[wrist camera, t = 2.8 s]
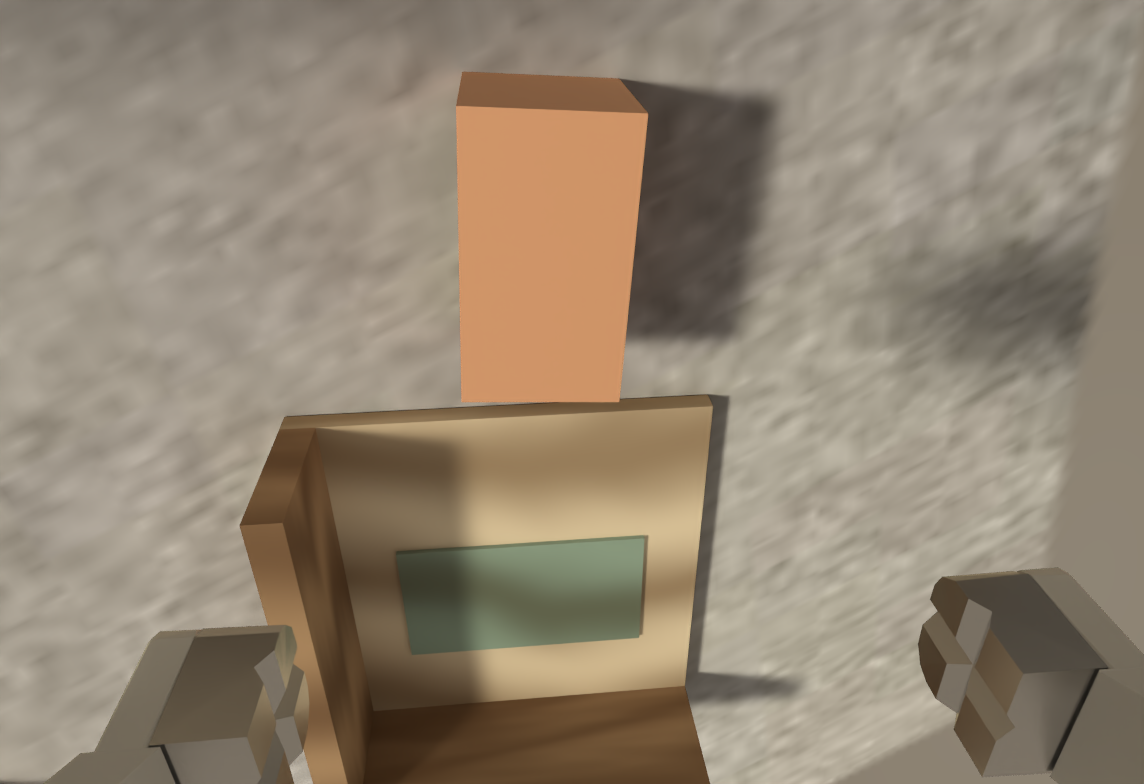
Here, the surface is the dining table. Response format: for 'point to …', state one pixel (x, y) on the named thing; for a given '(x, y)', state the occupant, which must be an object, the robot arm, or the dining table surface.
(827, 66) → the dining table surface
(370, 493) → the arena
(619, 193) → the brick
